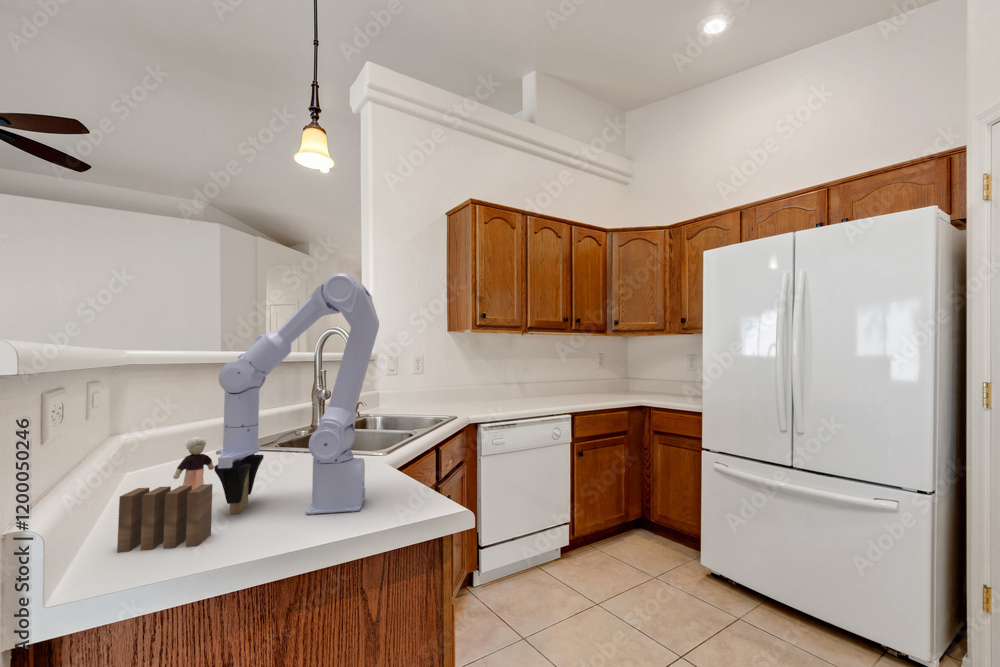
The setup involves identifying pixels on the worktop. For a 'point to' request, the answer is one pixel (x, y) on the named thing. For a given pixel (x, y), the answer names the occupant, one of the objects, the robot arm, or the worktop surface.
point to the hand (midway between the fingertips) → (239, 498)
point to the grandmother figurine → (194, 463)
